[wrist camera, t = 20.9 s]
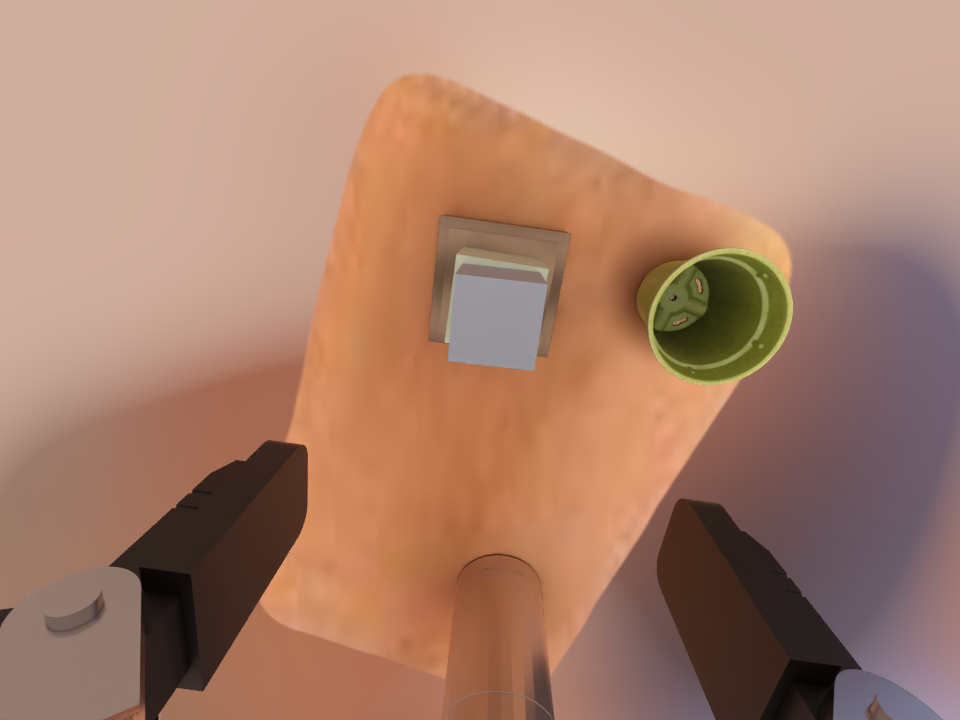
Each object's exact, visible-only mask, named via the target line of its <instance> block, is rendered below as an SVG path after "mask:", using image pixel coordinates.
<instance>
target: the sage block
mask: <svg viewBox="0 0 960 720" xmlns="http://www.w3.org/2000/svg"><path fill="white" fill-rule="evenodd" d="M463 263H466V264H475V265H484V266H492V267H501V268H510V269H519V270H528V271H536V272H540V273H541V274H542V276H543V278H544V279H545V281H546V280H547V276H548V271H549V269H548V268H547V266H546V265H545V264H544V263H543V261H542V260H541V259H537V258H531V257H525V256H518V255H512V254H506V253H500V252H494V251H488V250H482V249H476V248H470V247H463V248H462V249H461V250H460V251H459V252H458V253H457V254H456V261H455V269H454V276H453V283H452V291H451V298H450V306H449V313H448V320H447V328H446V335H445V343H449V340H450V329H451V317H452V306H453V295H454V283H455V274H456V272H457V271H458V269H459V268H460V266H461V265H462V264H463Z"/></svg>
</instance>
